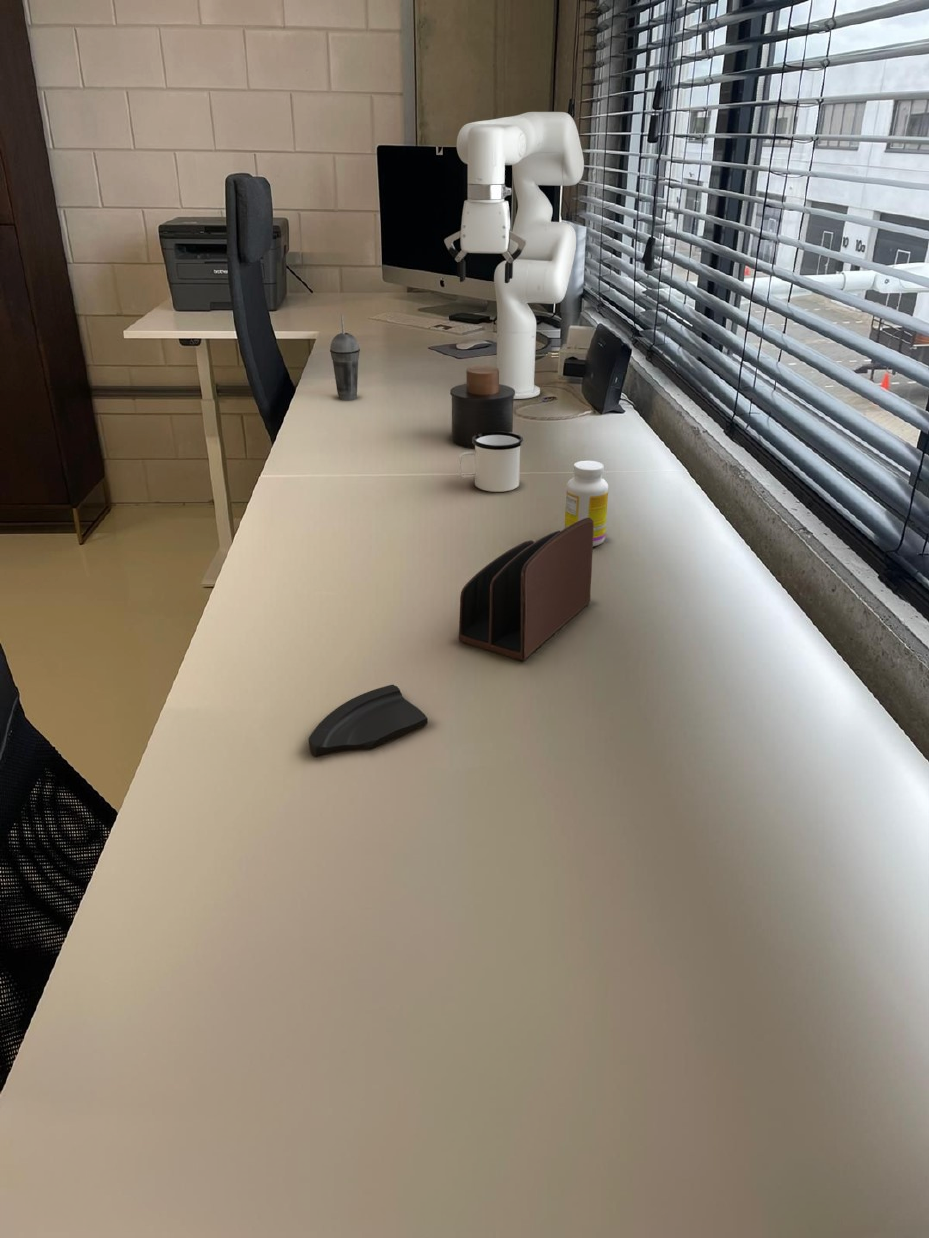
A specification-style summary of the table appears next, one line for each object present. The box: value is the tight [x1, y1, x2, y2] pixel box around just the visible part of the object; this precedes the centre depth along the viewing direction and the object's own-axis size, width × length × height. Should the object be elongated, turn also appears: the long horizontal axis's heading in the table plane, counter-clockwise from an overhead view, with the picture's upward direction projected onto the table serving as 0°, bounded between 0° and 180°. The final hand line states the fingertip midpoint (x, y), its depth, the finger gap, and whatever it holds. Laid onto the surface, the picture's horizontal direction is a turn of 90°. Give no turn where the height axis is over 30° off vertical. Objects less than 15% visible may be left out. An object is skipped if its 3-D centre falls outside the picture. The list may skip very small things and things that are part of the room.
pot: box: [449, 383, 515, 450], centre depth 200 cm, size 14×14×11 cm
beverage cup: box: [329, 314, 361, 401], centre depth 228 cm, size 7×7×20 cm
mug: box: [458, 431, 524, 493], centre depth 176 cm, size 12×10×9 cm
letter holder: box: [458, 517, 594, 662], centre depth 126 cm, size 10×20×14 cm, turn 148°
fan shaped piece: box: [308, 684, 429, 758], centre depth 106 cm, size 8×14×2 cm, turn 125°
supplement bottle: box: [564, 460, 609, 547], centre depth 152 cm, size 7×7×13 cm
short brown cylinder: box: [465, 365, 499, 395], centre depth 197 cm, size 7×7×4 cm
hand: (484, 281), depth 201 cm, fingers open, 9 cm apart
